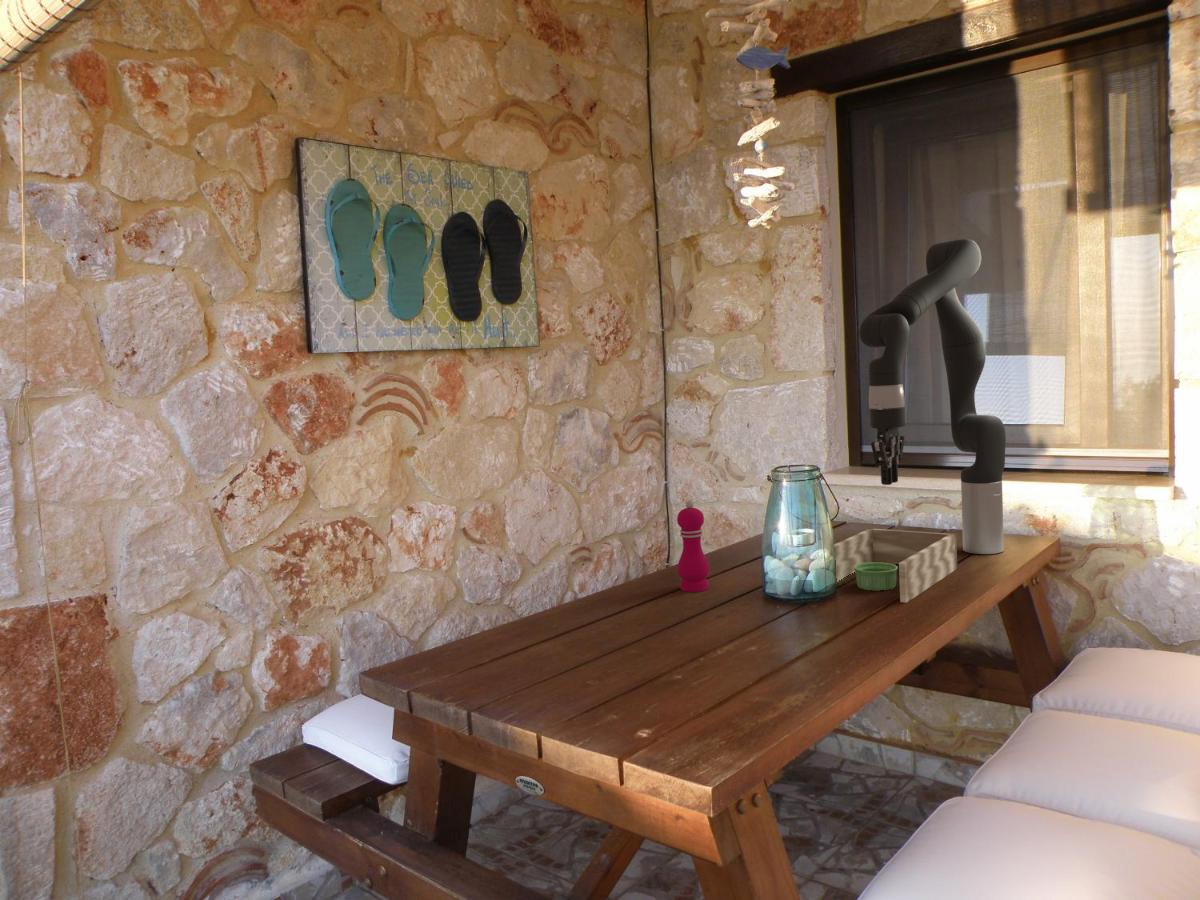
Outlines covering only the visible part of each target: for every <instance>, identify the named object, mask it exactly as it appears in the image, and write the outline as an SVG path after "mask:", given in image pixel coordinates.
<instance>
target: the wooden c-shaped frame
mask: <svg viewBox="0 0 1200 900" xmlns="http://www.w3.org/2000/svg"><path fill="white" fill-rule="evenodd" d="M957 543H958V542H957V533H947V532H931V531H916V530H915V531H914V530H900V529H898V530H897V529H885V528H883V529H882V528H867V529H865V530H863V531H860V532H859V533H856V534H855V535H852V536H850V537H848V538H846V539H844V540H841V541H839V542H836V543H834V544H833V545H834V547H835V560H836V578H837V582H836V583H839V582H840V581H841V579H842V580H844V579H845V578H844V577H846V576H848V575H849V574H851V575H853V574H855V573H856V572H855V570H854V567H855V566H856V565H858V564H861V563H869V562H882V563H890V564H894V565H896V564H898V565H897V566H898V574H899V577H898V578H899V600H900V601H899V602H900V603H904V604H905V603H906V604H907V603H908V602H910V601H912V600H913V599H915V598H916V597H917V596H919V595H920V594H922V593H923V592H925V591H926V590H928V589H929V588H931V587H933V586H934V585H935V584H937V583H938V582H940V581H941V580H943V579H944V578H947V576H948V575H950V574H952V573H953V572H954V571H956V570H957V569H958V551H957V550H958V548H957V547H958V546H957ZM854 572H855V573H854ZM852 573H853V574H852ZM849 576H850V575H849ZM849 576H848V577H849ZM843 578H844V579H843ZM846 578H847V577H846ZM839 580H840V581H839Z"/></svg>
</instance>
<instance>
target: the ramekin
mask: <svg viewBox="0 0 1200 900" xmlns="http://www.w3.org/2000/svg"><path fill="white" fill-rule="evenodd" d="M854 570H855V579H856V585H857V587H858V588H859V589H862V590H865V591H870V590H872V592H873V591H875V592H881V591H880V590H884V591H890V590H893V589H895V587H896V586H897V572H898V570H899V566H898V565H896V564H890V563H882V562H869V563H861V564H858V565H856V566H855V567H854ZM889 589H890V590H889Z"/></svg>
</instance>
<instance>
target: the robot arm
mask: <svg viewBox="0 0 1200 900" xmlns="http://www.w3.org/2000/svg"><path fill="white" fill-rule="evenodd" d="M981 264H982V252H981V249H980V247H979V245H978V244H977V242H976V241H975V240H973V239H970V238H960V239H959V238H958V239H954V240H949V241H944V242H940V243H939V242H938V243H935V244H932V245H930V247H929V248H928V250H927V252H926V257H925V265H926V273H927V274H925V275H923V277H920V278H919V279H916V280H915V281H913V282H911V283H910V284H908V285H907V286H905V287H904V288H903V290H902V289H901V291H900V292H899V293H898V294H897V295H896V296H895V297H893V299H892V300H891V301H890V302H888V303H885V304H884V305H883V306H881V307H879V308H877V309H875V310H874V311H872V312H871V313H869V314H868V315H867V316H866V317H865V318H864V319H863V320H862V321H861V324H860V325H859V330H858V332H859V333H858V335H859V339H860V342H861V343H862V344H864V346H866V347H870V348H884V350H883V354H882V356H880V357H878V358H875V359H874V358H873V359H872V360H871V361H870V362H869V364H868V377H869V379H868V381H869V387H868V388H869V390H868V409H869V410H868V411H869V414H868V415H869V427H870V428H871V429H876V438H875V441H871V443H870V444H871V445H870V446H871V450H872V454H873V459H874V463H875V464H874V465H875V466H876V467H879V468H880V479H881V480H880V481H881V484H882V485H883V486H890V485H892V484H894V483H895V484H896V483H898V482H899V472H898V468H899V467H898V466H899V465H900V462H902V460H903V453H904V445H905V439H906V438H905V435H900V432H899V428H903V427H905V426H906V403H905V401H906V400H905V390H904V382H903V381H904V379H903V378H904V376H903V366H904V365H903V364H904V360H905V355H906V351H907V346H908V343H909V338H910V326H912V325H914V324H915V323H916V322H917V321H918V320H919V319H920V318H921V317H922V316H923V315H924V314H925V313H926V312H927V311H928V310H929V309H930V308H931V307H932V306H933V305H934V304H935V305H934V306H935V308H936V315H937V319H938V325H939V327H938V328H939V331H940V332H939V333H940V341H941V346H942V347H941V348H942V354H943V355H942V356H943V360H944V366H945V372H946V377H947V387H948V395H949V406H950V407H949V408H950V426H951V427H950V428H951V436H952V441H953V444H954V445H955V446H956V448H957V449H958V450H959V451H961V452H965V453H972V454H973V453H974V454H975V460H974V463H973V464H972V465H969V466H967V467H965V468H963V469H961V471H960V485H961V486H960V487H961V488H960V489H961V521H962V523H961V524H962V550H963V552H965V553H970V554H977V555H978V554H979V555H992V554H994V555H995V554H1000V553H1003V552H1004V549H1005V548H1004V547H1005V545H1004V544H1005V543H1004V541H1005V540H1004V505H1003V504H1004V503H1003V499H1004V498H1003V472H1004V469H1005V467H1006V466H1005V465H1006V443H1007V442H1006V438H1007V437H1006V428H1005V425H1004V422H1003V421H1002V419H1000V417H998V416H995V415H991V414H988V415H987V414H977V409H976V401H975V399H976V398H975V395H976V388H977V385H978V382H979V380H980V378H981V375H982V373H983V370H984V368H985V364H986V350H985V342H984V336H983V332H982V330H981V328H980V325H978V323H977V322H976V321H975V320H974V318H973V317H972V316H971V315H970V313H969V312H968V311H967V310H966V309H965V308H964V306H963V305H962V303H961V301H960V300H959V297H958V294H957V291H956V287H957V286H959V285H960V284H962V283H963V282H965V281H967V280H968V279H970V278H972V277H973V276H974V275H976V273H978V270H979V269H980V266H981Z"/></svg>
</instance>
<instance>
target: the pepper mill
mask: <svg viewBox="0 0 1200 900" xmlns="http://www.w3.org/2000/svg"><path fill="white" fill-rule="evenodd" d="M685 506H686V508H683V509H681V510H680V511H679V512H678V514H677V518H676V522H677V524H678V526H679V528H680V530H679V532H680V534H679V535H680V537H681V538H682V552H681V555H680V557H679V560H678V564H677V568H676V569H677V572H676V573H677V575H678V576H679V577H680V578H681V579H682V580H681V581H680V582H679V583H680V584H679V585H680V587H679V588H680V590H681V591H682V592H688V593H698V592H705V591H706V590H708V589H709V580H708V579H706V578H707V577H708V575H709V574H710V572H711V571H710V570H711V569H710V564H709V562H708V559H707V557H706V556H705V553H704V551H703V549H702V543H701V540H702V536H703V535H704V533H703V529H702V526H703V524H704V522H705V517H704V514H703V511H701V510H700V509H699V508H696V507H694V502H693V501H692V500H688V501H687V502H685Z"/></svg>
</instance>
